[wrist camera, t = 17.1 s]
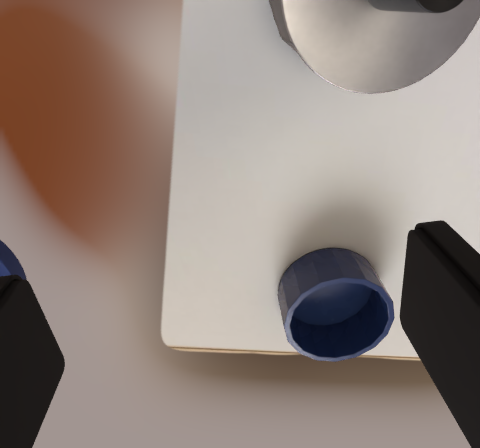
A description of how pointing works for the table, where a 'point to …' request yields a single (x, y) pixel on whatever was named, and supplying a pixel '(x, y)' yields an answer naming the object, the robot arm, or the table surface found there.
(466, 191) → the table surface
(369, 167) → the table surface
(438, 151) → the table surface
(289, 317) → the blue faceted bowl
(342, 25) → the lid
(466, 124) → the table surface
